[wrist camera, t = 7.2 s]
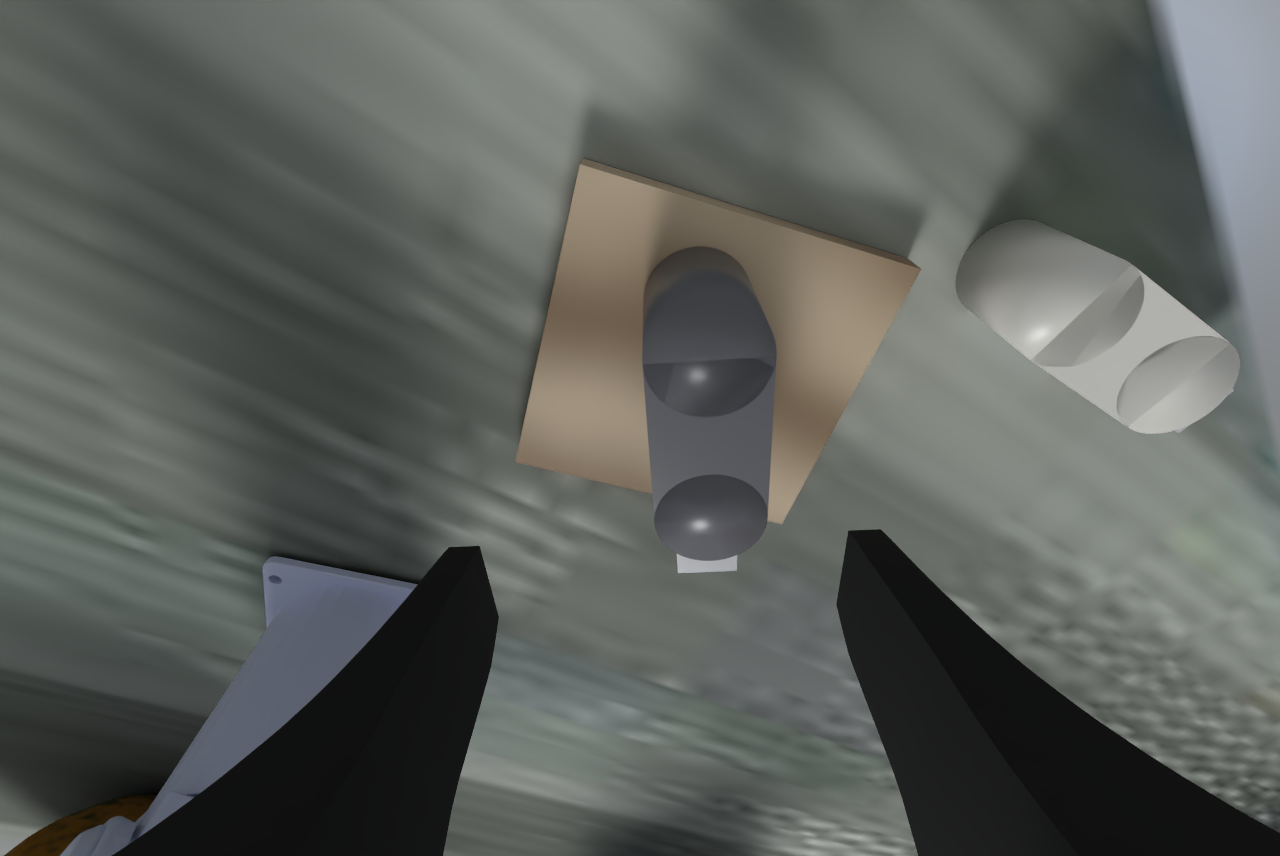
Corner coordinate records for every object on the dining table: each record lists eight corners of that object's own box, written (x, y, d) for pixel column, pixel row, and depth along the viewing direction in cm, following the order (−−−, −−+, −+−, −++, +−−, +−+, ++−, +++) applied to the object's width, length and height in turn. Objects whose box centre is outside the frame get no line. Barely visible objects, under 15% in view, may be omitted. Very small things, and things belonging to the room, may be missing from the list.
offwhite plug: (934, 286, 19) (991, 332, 16) (1012, 198, 17) (1091, 231, 14) (1118, 413, 21) (1198, 476, 18) (1200, 346, 20) (1301, 401, 16)
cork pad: (776, 506, 23) (781, 524, 22) (520, 445, 22) (515, 461, 21) (908, 258, 18) (920, 269, 17) (583, 158, 17) (580, 164, 16)
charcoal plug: (639, 250, 17) (637, 300, 14) (753, 242, 17) (780, 291, 13) (659, 528, 23) (661, 613, 19) (745, 524, 22) (762, 609, 19)
